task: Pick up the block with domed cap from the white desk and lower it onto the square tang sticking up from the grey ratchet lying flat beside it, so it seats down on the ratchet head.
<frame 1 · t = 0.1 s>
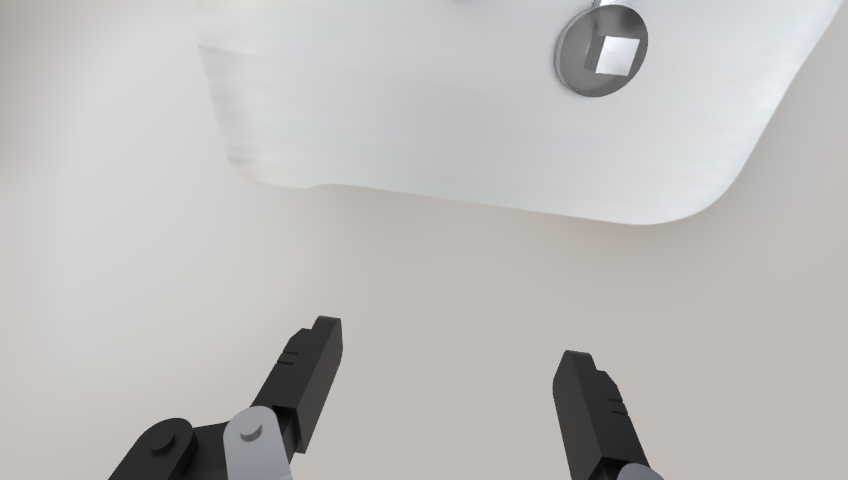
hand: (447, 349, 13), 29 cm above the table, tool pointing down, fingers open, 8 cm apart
ratchet: (594, 51, 33), on the table
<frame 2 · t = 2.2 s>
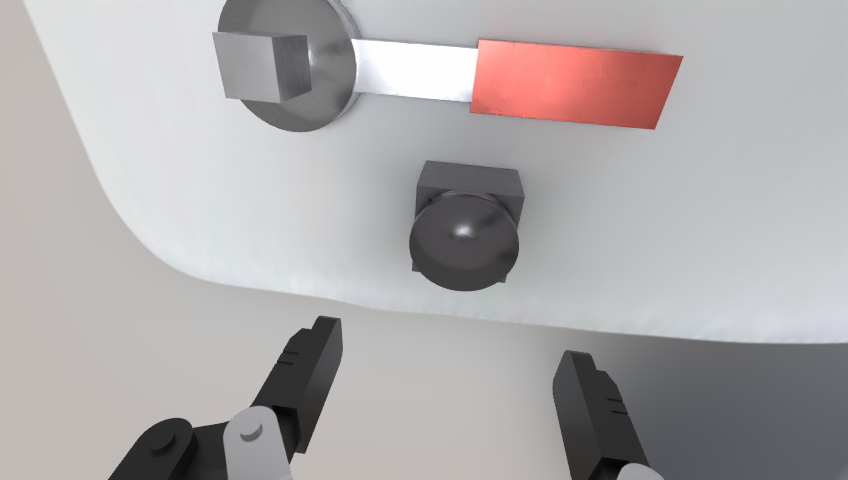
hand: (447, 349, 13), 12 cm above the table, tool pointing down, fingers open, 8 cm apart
ratchet: (305, 57, 20), on the table
block with domed cap: (465, 206, 23), on the table
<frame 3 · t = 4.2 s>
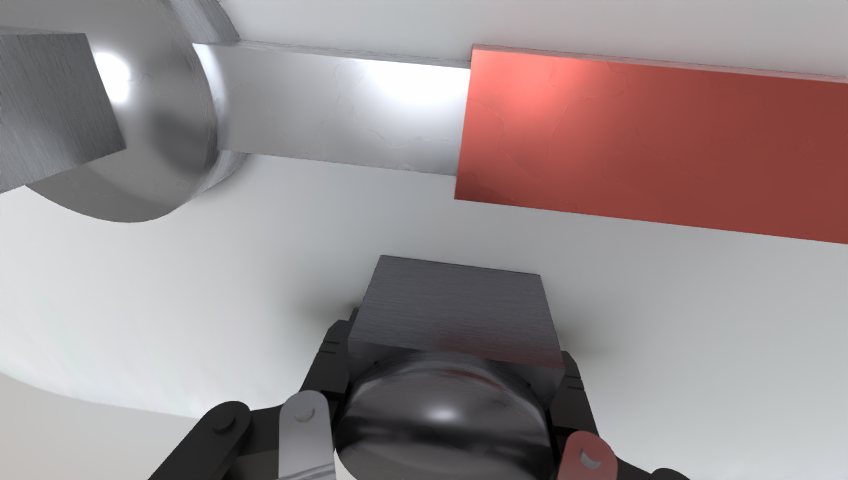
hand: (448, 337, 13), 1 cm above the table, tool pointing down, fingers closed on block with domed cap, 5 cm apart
ratchet: (141, 77, 10), on the table
block with domed cap: (450, 323, 14), on the table, touching gripper
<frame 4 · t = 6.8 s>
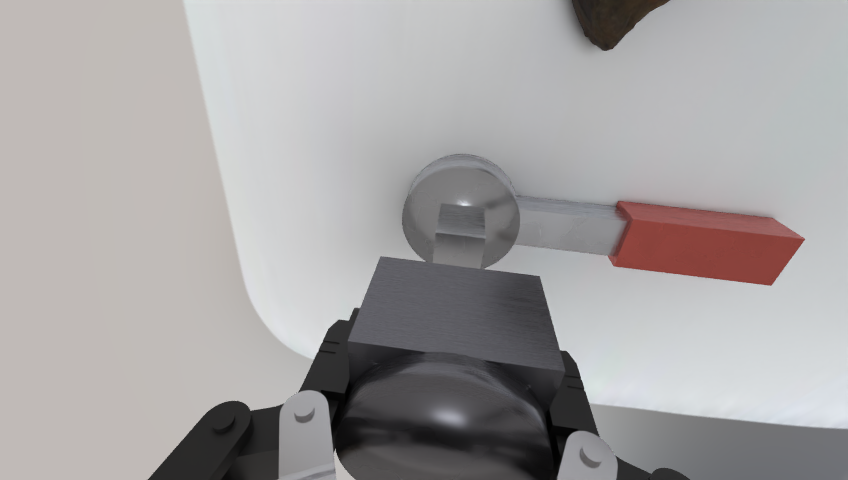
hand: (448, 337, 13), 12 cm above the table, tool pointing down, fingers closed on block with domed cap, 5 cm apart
ratchet: (461, 206, 24), on the table
block with domed cap: (450, 324, 14), point 11 cm above the table, touching gripper
when the fingers open (4 cm above the table, at t = 9.4 s): block with domed cap stays where it is, resting on ratchet.
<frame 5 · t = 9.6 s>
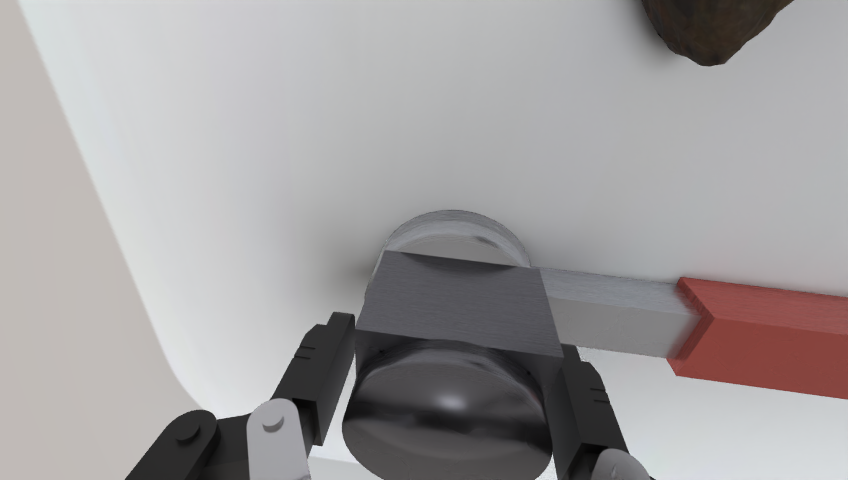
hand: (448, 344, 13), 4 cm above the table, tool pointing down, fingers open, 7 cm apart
ratchet: (452, 278, 16), on the table, touching block with domed cap
block with domed cap: (452, 316, 14), point 2 cm above the table, touching ratchet
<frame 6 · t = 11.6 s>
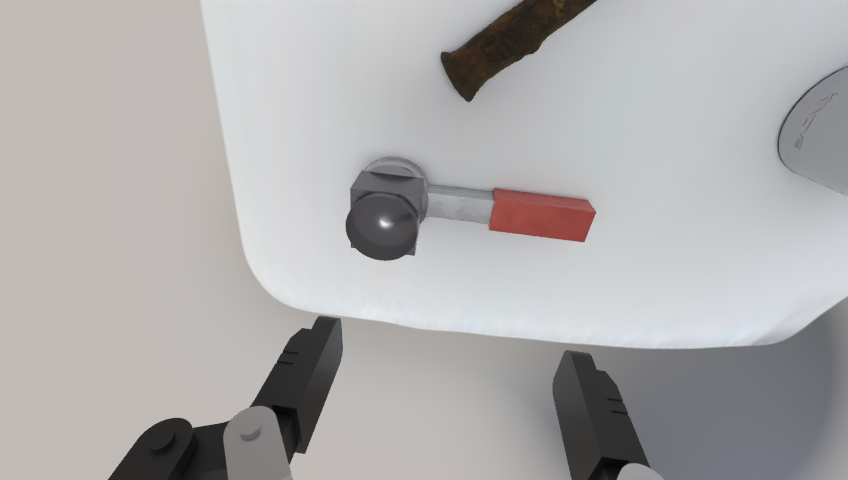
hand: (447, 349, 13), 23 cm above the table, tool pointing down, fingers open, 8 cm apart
ratchet: (394, 191, 35), on the table, touching block with domed cap
block with domed cap: (391, 202, 33), point 2 cm above the table, touching ratchet
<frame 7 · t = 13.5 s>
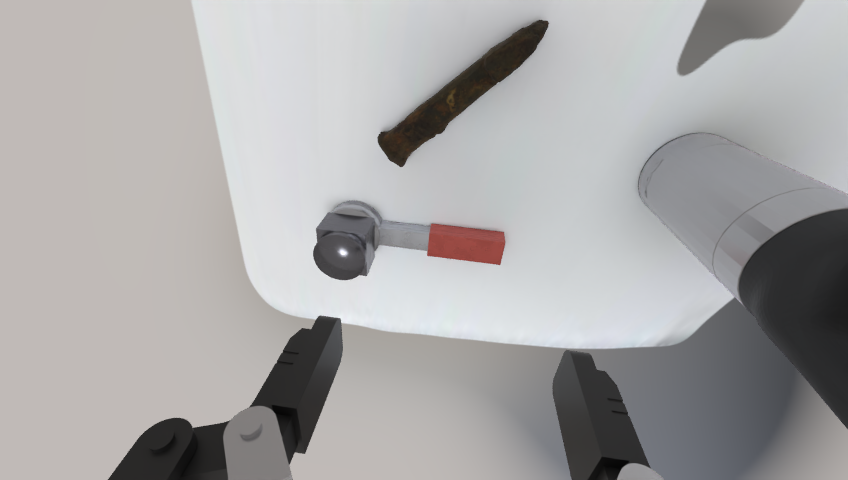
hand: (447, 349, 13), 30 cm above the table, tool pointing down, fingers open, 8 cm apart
ratchet: (357, 225, 46), on the table, touching block with domed cap
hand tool: (456, 86, 37), on the table
block with domed cap: (352, 235, 44), point 2 cm above the table, touching ratchet
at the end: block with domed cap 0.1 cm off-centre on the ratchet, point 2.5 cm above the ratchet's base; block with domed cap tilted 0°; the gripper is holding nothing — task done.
